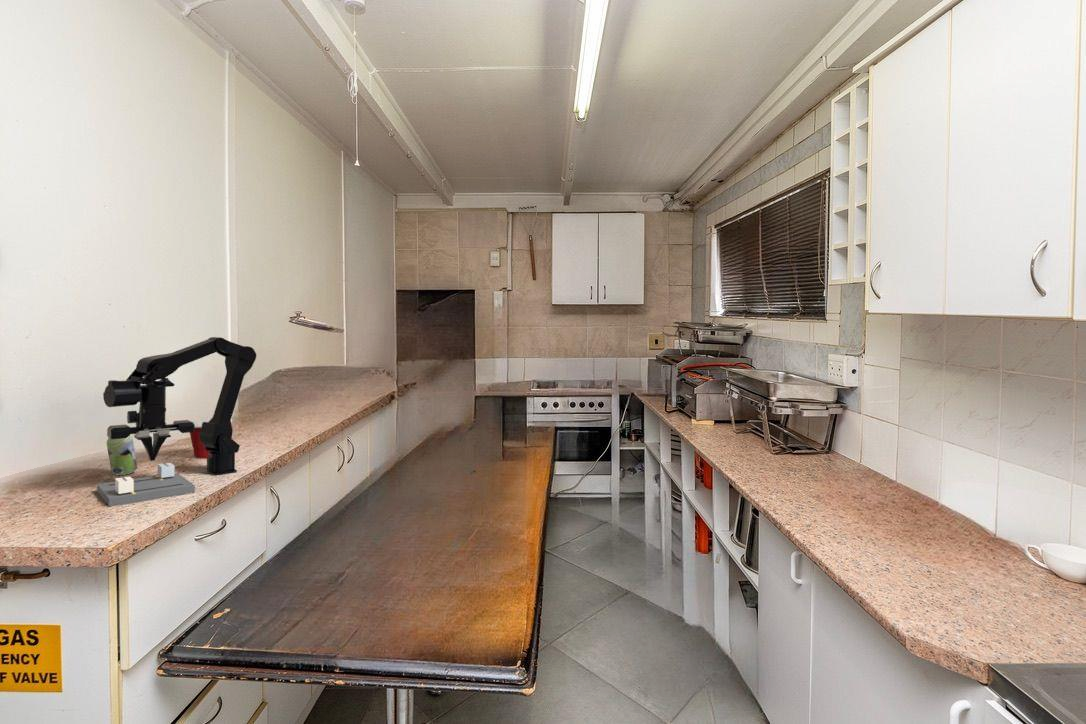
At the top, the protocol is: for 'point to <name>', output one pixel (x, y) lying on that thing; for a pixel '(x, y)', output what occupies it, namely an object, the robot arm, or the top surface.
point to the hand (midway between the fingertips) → (152, 460)
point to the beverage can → (122, 455)
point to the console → (146, 489)
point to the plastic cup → (198, 440)
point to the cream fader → (124, 485)
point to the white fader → (165, 470)
